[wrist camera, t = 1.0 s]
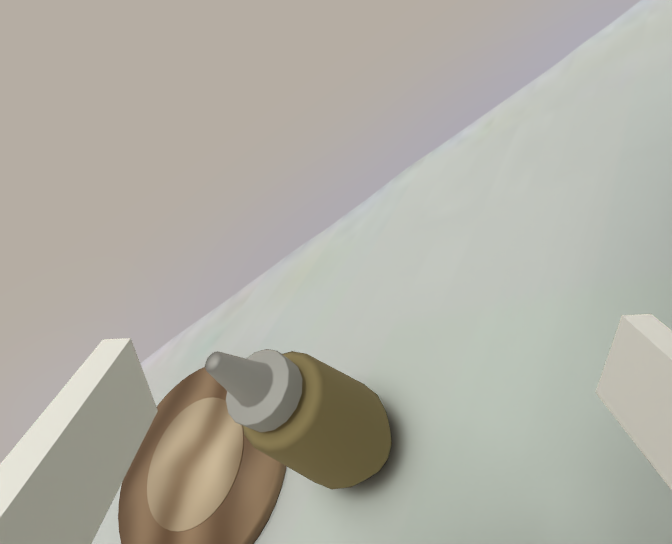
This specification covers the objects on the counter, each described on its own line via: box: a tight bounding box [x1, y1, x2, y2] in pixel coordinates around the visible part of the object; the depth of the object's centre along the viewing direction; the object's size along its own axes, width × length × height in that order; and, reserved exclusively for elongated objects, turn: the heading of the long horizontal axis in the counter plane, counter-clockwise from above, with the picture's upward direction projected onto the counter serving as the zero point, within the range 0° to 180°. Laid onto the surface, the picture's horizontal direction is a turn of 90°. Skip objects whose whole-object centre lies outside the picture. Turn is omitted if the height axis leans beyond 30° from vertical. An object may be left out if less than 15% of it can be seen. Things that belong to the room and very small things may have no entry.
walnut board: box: [118, 367, 286, 544], centre depth 40 cm, size 20×20×2 cm
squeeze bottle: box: [205, 349, 392, 489], centre depth 27 cm, size 8×8×18 cm
